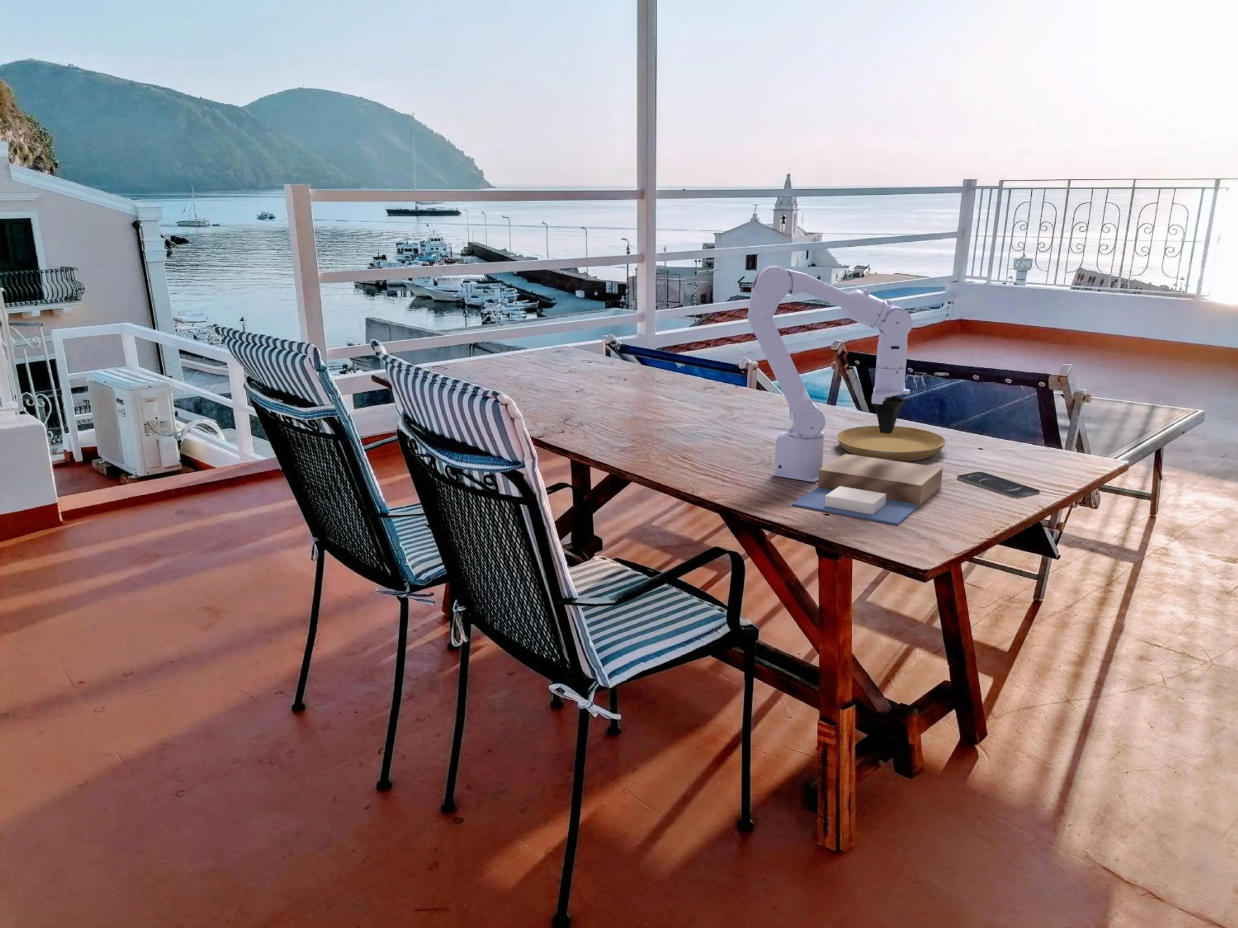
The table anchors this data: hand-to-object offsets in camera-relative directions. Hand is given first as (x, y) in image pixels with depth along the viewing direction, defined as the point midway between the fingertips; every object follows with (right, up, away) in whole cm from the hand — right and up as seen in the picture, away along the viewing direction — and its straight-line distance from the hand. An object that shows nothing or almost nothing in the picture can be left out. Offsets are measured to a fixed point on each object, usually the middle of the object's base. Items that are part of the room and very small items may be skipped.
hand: (886, 432), depth 172 cm
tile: (-11, -12, -16) cm, 23 cm away
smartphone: (+21, -11, -4) cm, 24 cm away
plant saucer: (+8, -4, +23) cm, 25 cm away
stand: (-3, -11, -5) cm, 13 cm away
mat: (-11, -14, -15) cm, 24 cm away
